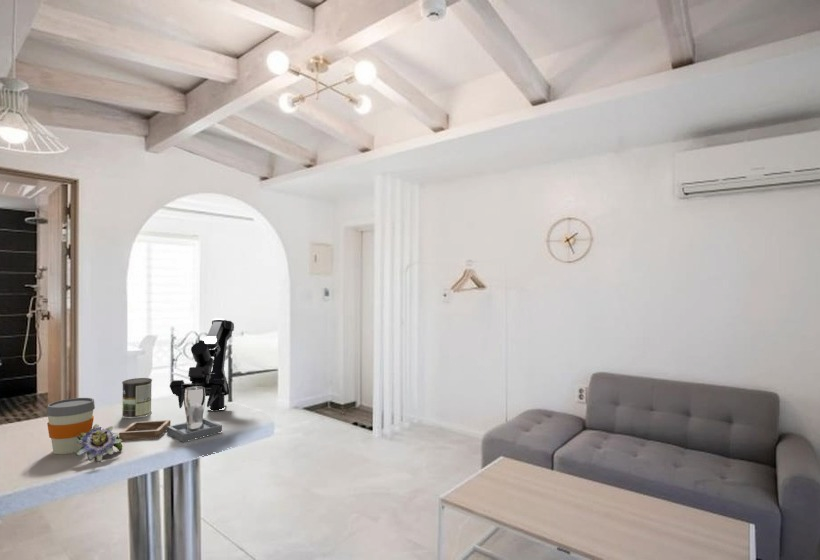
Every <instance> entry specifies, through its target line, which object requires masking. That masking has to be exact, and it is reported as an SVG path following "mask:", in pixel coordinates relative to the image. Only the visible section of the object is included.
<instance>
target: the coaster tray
mask: <svg viewBox="0 0 820 560" xmlns="http://www.w3.org/2000/svg"><path fill="white" fill-rule="evenodd" d="M186 422H187V421H186ZM186 422H182V423H178V424H171V425H170V426H168V427H167V431H166V434H167V435H169V436H170V435H171V436H170V437H172V438H174V439H176V440H178V441H180V442H181V443H185V442H186V441H187V442H189V441H188V440H191V439H194V440H196V439H195V438H198V439H201V438H200V437H202V438H204V437H203V436H206V437H208V436H207V435H210V436H212V435H211V434H214V433H218V432H221V431H222V432H223V425H222V424H219V423H217V422H215V421H212V420H210V419H208V418H206V417H204V418H203V425H204V429H202V430H198V431H194V432H186V431H185V428H186ZM218 434H219V433H218ZM214 435H215V434H214ZM191 441H192V440H191Z"/></svg>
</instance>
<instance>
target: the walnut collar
mask: <svg viewBox="0 0 820 560" xmlns="http://www.w3.org/2000/svg"><path fill="white" fill-rule="evenodd" d="M168 426H171V419H165V420H145V421H133V422H132V423H131V424H129V425H128V426H126V428H124V429H123V430H121V431H120V432H118V433H119V435H118V437H119V438H120V439H121V440H122V441H129V440H133V441H134V440H147V439H159V438H161V436H162V435H163V434H164V433H166V432H167V431H166V430H167V427H168ZM136 429H139V430H136Z"/></svg>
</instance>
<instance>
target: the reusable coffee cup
mask: <svg viewBox="0 0 820 560" xmlns="http://www.w3.org/2000/svg"><path fill="white" fill-rule="evenodd" d="M46 406H47V408H46V412H45V413H46V416H47V418H48V419H47V421H48V422H47V430H48V437H49V438H50V440H51V445H52V453H53V452H54V453H53V454H55V455H65V454H67V453H68V454H74V453H76V452H77V451H78V450H79V449H81V447H82V444H79V443H77V441H79V439H78V438H77V435H78V436H79V437H80V436H81V435H80V434H81V433H86V432H89V431H90V430H92V429H93V426H94V425H93V424H94V418H95V417H94V414H93V413H94V410H95V408H96V406H95V399H94V398H92V397H75V398H67V399H61V400H57V401H56V400H55V401H53V402H50V403H49V404H47V405H46ZM84 436H85V435H84ZM81 439H82V437H81ZM73 452H74V453H73ZM68 454H67V455H68Z"/></svg>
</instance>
